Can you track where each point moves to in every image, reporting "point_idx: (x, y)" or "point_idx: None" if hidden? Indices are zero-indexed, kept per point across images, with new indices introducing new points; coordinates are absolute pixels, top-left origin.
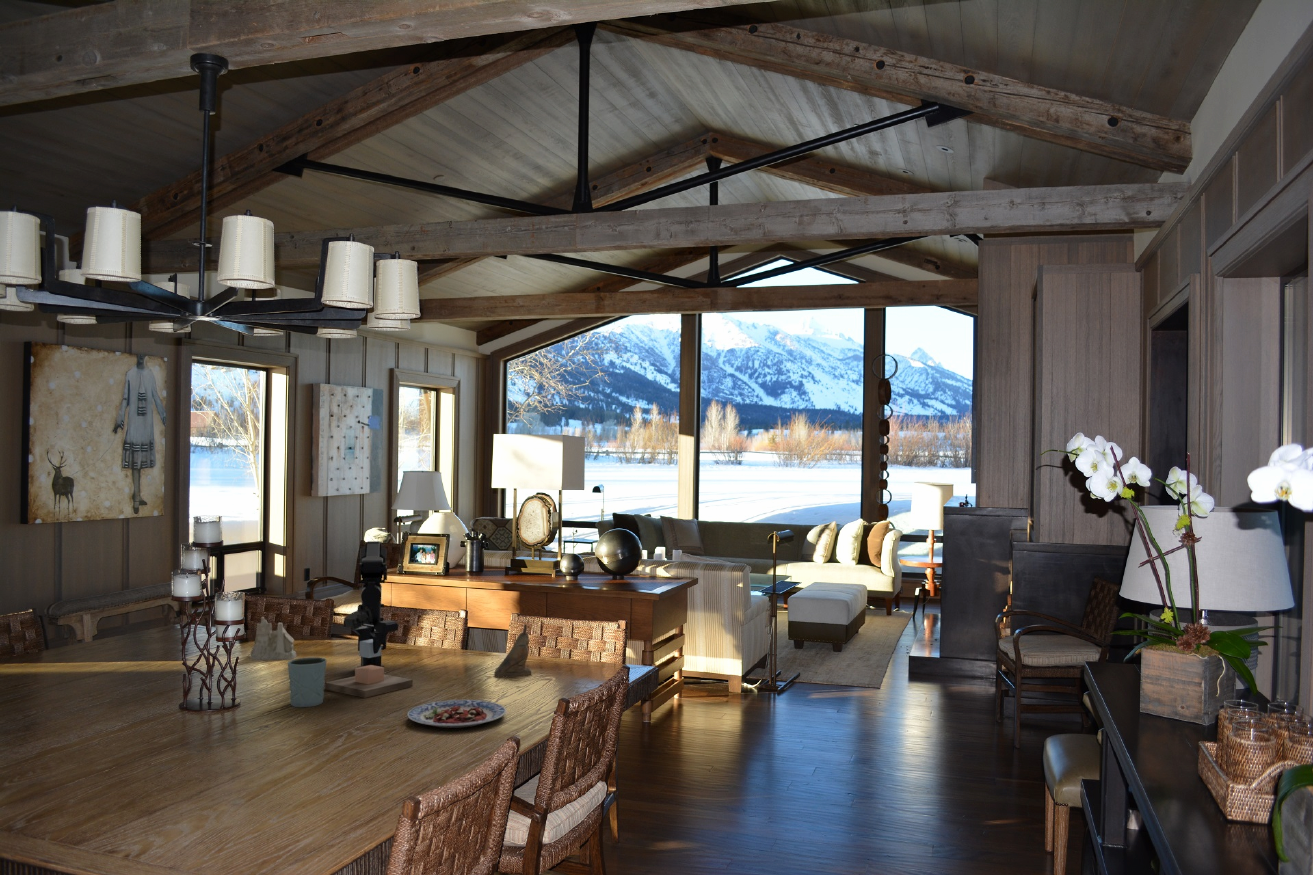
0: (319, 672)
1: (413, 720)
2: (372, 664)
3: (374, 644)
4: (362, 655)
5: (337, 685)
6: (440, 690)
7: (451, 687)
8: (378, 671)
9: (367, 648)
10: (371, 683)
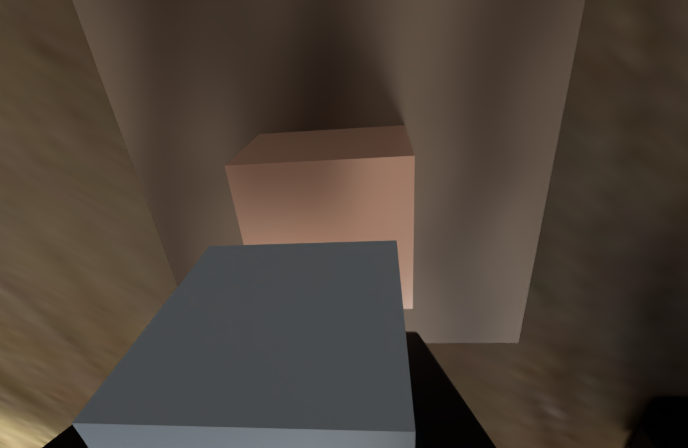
0: None
1: None
2: (669, 437)
3: (77, 432)
4: (333, 251)
5: None
6: (66, 333)
7: (96, 380)
8: None
9: (195, 326)
10: None
